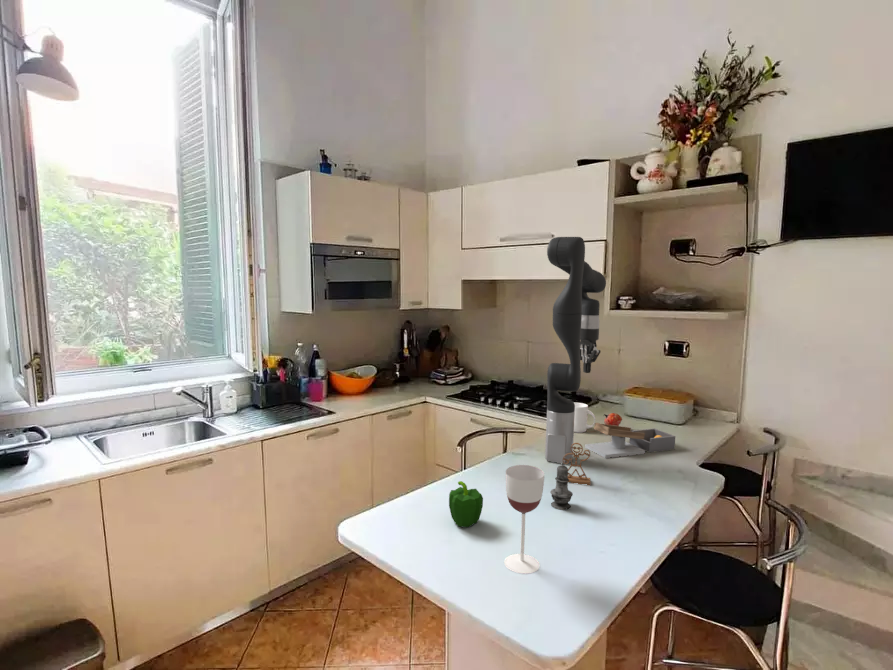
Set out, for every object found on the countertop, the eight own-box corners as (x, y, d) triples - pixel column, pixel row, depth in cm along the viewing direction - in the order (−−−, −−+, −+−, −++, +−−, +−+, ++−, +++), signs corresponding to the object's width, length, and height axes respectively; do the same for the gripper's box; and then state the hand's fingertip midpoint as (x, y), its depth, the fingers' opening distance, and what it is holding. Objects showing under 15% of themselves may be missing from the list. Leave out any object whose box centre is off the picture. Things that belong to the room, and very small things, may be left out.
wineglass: (498, 570, 101) (501, 476, 99) (508, 549, 109) (511, 462, 107) (536, 578, 98) (540, 483, 96) (544, 556, 106) (547, 468, 105)
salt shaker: (568, 512, 128) (570, 468, 127) (546, 506, 131) (548, 463, 130) (575, 504, 133) (576, 461, 132) (554, 499, 136) (555, 457, 135)
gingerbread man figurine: (559, 481, 148) (561, 443, 147) (560, 477, 152) (562, 439, 151) (590, 485, 146) (592, 446, 145) (590, 480, 150) (592, 442, 149)
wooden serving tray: (643, 439, 177) (645, 432, 177) (607, 435, 172) (609, 428, 172) (616, 428, 191) (618, 421, 191) (582, 423, 186) (584, 417, 186)
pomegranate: (618, 432, 208) (600, 416, 211) (630, 421, 205) (611, 405, 208) (616, 439, 202) (596, 422, 204) (628, 427, 199) (608, 411, 201)
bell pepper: (487, 528, 119) (488, 488, 118) (454, 532, 116) (455, 492, 115) (475, 513, 127) (476, 476, 126) (444, 517, 124) (445, 479, 123)
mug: (591, 435, 196) (592, 409, 195) (562, 430, 202) (563, 405, 201) (597, 430, 203) (598, 405, 202) (569, 425, 210) (570, 401, 209)
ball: (660, 440, 182) (667, 442, 183) (657, 432, 184) (664, 434, 185) (653, 445, 184) (660, 447, 185) (650, 436, 186) (657, 438, 187)
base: (644, 453, 175) (645, 438, 175) (605, 458, 170) (606, 442, 169) (622, 443, 187) (623, 429, 186) (584, 447, 181) (585, 433, 181)
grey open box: (674, 449, 181) (675, 436, 180) (649, 452, 177) (650, 438, 176) (653, 440, 191) (654, 428, 190) (629, 443, 187) (630, 430, 186)
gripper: (608, 328, 179) (606, 375, 180) (586, 325, 191) (584, 369, 193) (590, 328, 176) (588, 376, 178) (570, 325, 189) (568, 370, 190)
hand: (586, 372), depth 185 cm, fingers closed
